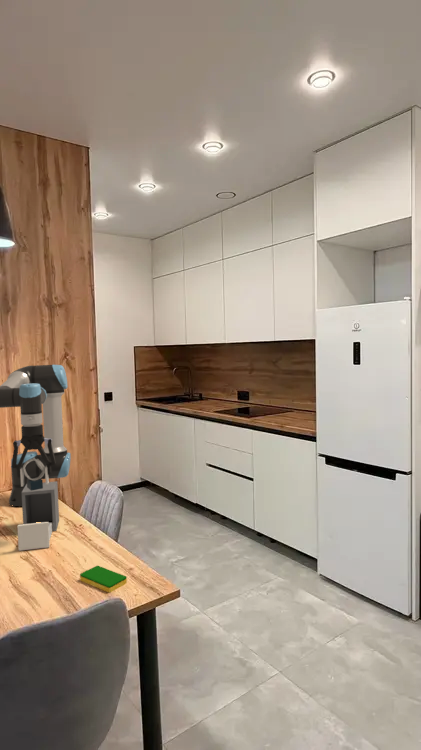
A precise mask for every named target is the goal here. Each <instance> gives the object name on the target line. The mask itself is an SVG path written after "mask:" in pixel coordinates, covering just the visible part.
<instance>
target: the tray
mask: <svg viewBox="0 0 421 750" xmlns="http://www.w3.org/2000/svg"><path fill="white" fill-rule="evenodd" d="M52 534H53V522H41V523H31V524H18V525H17V542H18V544H17V545H18V546H17V547H18V551H19V552H20V551H28V550H36V549H37V550H38V549H45V548H46V549H48V548H50V546H51V545H50V539H51V537H52Z"/></svg>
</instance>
